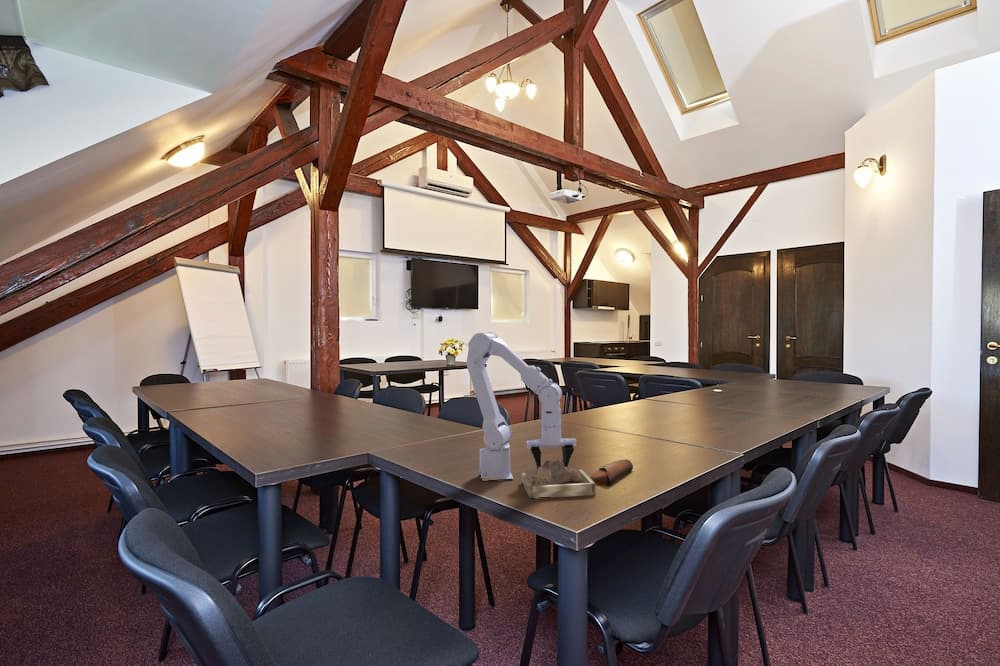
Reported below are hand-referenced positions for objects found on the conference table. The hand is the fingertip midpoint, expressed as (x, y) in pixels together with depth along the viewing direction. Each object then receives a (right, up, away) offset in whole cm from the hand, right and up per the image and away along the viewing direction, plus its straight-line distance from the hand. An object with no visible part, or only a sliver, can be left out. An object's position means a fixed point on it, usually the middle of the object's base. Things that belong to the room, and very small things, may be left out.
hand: (552, 471), depth 142 cm
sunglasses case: (+18, -3, +4) cm, 18 cm away
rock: (+1, -3, -3) cm, 4 cm away
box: (+1, -3, -6) cm, 7 cm away
